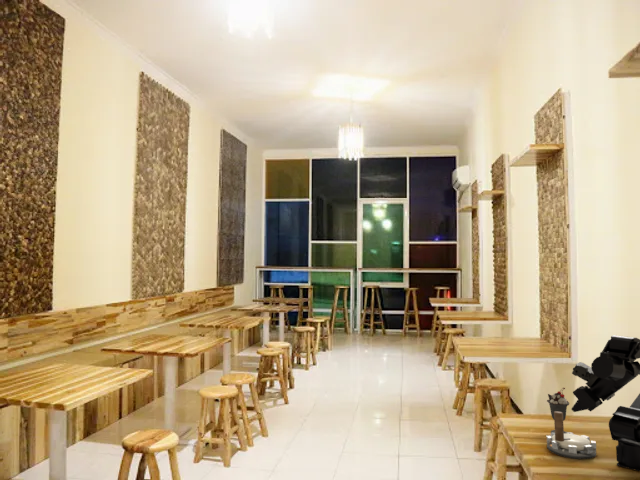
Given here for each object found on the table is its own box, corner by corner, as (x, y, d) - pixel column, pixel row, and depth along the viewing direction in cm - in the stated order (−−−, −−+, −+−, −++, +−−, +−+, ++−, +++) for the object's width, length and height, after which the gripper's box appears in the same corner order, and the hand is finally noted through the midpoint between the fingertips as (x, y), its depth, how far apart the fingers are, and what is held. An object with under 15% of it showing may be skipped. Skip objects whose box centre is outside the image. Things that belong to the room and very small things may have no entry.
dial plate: (602, 450, 144) (601, 438, 144) (587, 463, 135) (587, 451, 135) (556, 439, 153) (556, 428, 153) (540, 450, 144) (539, 439, 144)
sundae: (574, 436, 155) (572, 389, 156) (553, 436, 156) (551, 389, 156) (564, 429, 162) (562, 384, 163) (544, 429, 162) (542, 384, 163)
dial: (598, 449, 140) (596, 416, 140) (565, 451, 138) (564, 418, 139) (575, 437, 150) (574, 406, 150) (545, 439, 148) (544, 407, 149)
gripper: (601, 350, 144) (563, 381, 152) (579, 359, 131) (539, 392, 139) (632, 381, 138) (591, 412, 146) (613, 393, 125) (569, 427, 133)
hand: (572, 410), depth 141 cm, fingers closed
